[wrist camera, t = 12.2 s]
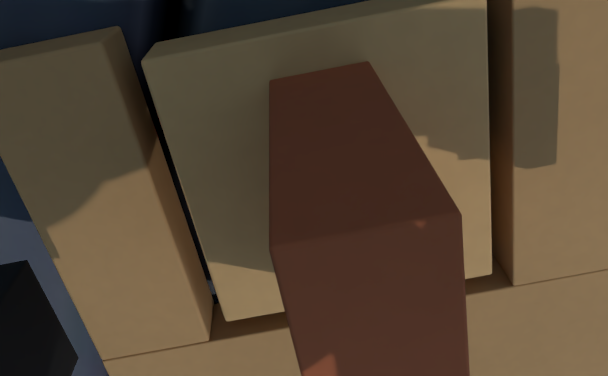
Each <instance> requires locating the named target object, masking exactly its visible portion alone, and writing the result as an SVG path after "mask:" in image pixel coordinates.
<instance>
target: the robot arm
mask: <svg viewBox="0 0 608 376" xmlns="http://www.w3.org/2000/svg"><path fill="white" fill-rule="evenodd" d="M77 360H78V356H77V354H76V352H75V350H74V348H73V346H72V345H71V343H70V341H69V339H68V337H67V335H66V333H65V331H64V329H63V327H62V326H61V324H60V322H59V320H58V318H57V316H56V314H55V312H54V310H53V308H52V307H51V305H50V303H49V301H48V299H47V297H46V295H45V293H44V291H43V289H42V288H41V286H40V284H39V282H38V280H37V278H36V276H35V274H34V272H33V270H32V269H31V267H30V265H29V263H28V261H27V260H24V261H19V262H14V263H9V264H3V265H0V376H71V375H72V372H73V370H74V367H75V365H76V362H77Z"/></svg>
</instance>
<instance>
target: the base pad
mask: <svg viewBox="0 0 608 376" xmlns="http://www.w3.org/2000/svg"><path fill="white" fill-rule="evenodd" d="M487 39H488V88H489V138H490V187H491V235H492V274H490V275H485V276H480V277H474V278H469V279H465V291H466V311H467V331H468V350H469V370H470V376H608V0H487ZM0 156H1V158H2V160H3V162H4V164H5V166H6V168H7V170H8V172H9V174H10V176H11V178H12V180H13V182H14V184H15V186H16V188H17V190H18V192H19V194H20V196H21V198H22V200H23V202H24V204H25V206H26V208H27V210H28V212H29V214H30V216H31V218H32V220H33V222H34V224H35V226H36V228H37V231H38V233H39V235H40V237H41V239H42V241H43V243H44V245H45V247H46V249H47V251H48V253H49V255H50V257H51V259H52V261H53V263H54V265H55V267H56V269H57V271H58V273H59V275H60V277H61V279H62V281H63V283H64V285H65V287H66V289H67V291H68V293H69V295H70V297H71V299H72V301H73V303H74V305H75V307H76V309H77V311H78V313H79V315H80V317H81V319H82V321H83V323H84V325H85V327H86V329H87V331H88V333H89V335H90V337H91V339H92V341H93V343H94V345H95V347H96V349H97V351H98V353H99V355H100V357H101V359H102V360H103V364H104V366H105V368H106V370H107V372H108V374H109V376H301V372H300V369H299V365H298V361H297V357H296V353H295V349H294V345H293V341H292V337H291V334H290V330H289V326H288V322H287V318H286V314H285V311H284V312H278V313H273V314H267V315H261V316H256V317H250V318H245V319H239V320H233V321H226V320H225V318H224V315H223V312H222V309H221V306H220V303H217V304H214V301H213V298H212V295H211V292H210V289H209V286H208V283H207V280H206V277H205V274H204V271H203V268H202V265H201V262H200V259H199V257H198V254H197V251H196V248H195V245H194V242H193V239H192V236H191V233H190V230H189V227H188V224H187V221H186V218H185V215H184V212H183V209H182V206H181V204H180V201H179V198H178V195H177V192H176V189H175V186H174V183H173V180H172V177H171V174H170V171H169V168H168V165H167V162H166V159H165V156H164V153H163V151H162V148H161V145H160V142H159V139H158V136H157V133H156V130H155V127H154V124H153V121H152V118H151V115H150V112H149V109H148V106H147V103H146V100H145V98H144V95H143V92H142V89H141V86H140V83H139V80H138V77H137V74H136V71H135V68H134V65H133V62H132V59H131V56H130V53H129V50H128V48H127V45H126V42H125V39H124V36H123V33H122V30H121V28H120V27H118V26H114V27H109V28H104V29H99V30H94V31H89V32H85V33H80V34H75V35H70V36H65V37H60V38H55V39H50V40H45V41H41V42H36V43H31V44H26V45H21V46H16V47H11V48H6V49H2V50H0Z"/></svg>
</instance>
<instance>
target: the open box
mask: <svg viewBox="0 0 608 376" xmlns="http://www.w3.org/2000/svg"><path fill="white" fill-rule="evenodd" d="M141 65H142V68H143V71H144V74H145V77H146V80H147V83H148V86H149V89H150V92H151V96H152V99H153V102H154V105H155V108H156V111H157V114H158V117H159V120H160V123H161V126H162V129H163V132H164V135H165V138H166V141H167V144H168V147H169V150H170V153H171V157H172V160H173V163H174V166H175V169H176V172H177V175H178V178H179V181H180V184H181V187H182V190H183V193H184V196H185V199H186V202H187V205H188V208H189V211H190V215H191V218H192V221H193V224H194V227H195V230H196V233H197V236H198V239H199V242H200V245H201V248H202V251H203V254H204V257H205V260H206V263H207V266H208V269H209V272H210V276H211V279H212V282H213V285H214V288H215V291H216V294H217V297H218V300H219V303H220V306H221V309H222V312H223V315H224V318H225V320H226V321H233V320H239V319H245V318H250V317H256V316H261V315H267V314H273V313H278V312H284V311H285V314H286V318H287V322H288V326H289V330H290V334H291V337H292V341H293V345H294V349H295V353H296V357H297V361H298V365H299V369H300V372H301V376H470V370H469V350H468V331H467V311H466V291H465V279H469V278H474V277H480V276H485V275H490V274H492V236H491V187H490V138H489V88H488V39H487V0H369V1H364V2H359V3H354V4H349V5H344V6H338V7H333V8H328V9H323V10H318V11H313V12H308V13H303V14H298V15H293V16H288V17H283V18H278V19H273V20H268V21H263V22H258V23H253V24H248V25H243V26H237V27H232V28H227V29H222V30H217V31H212V32H207V33H202V34H197V35H192V36H187V37H182V38H177V39H172V40H167V41H162V42H157V43H155V44H154V45H153V46H152V48H151V49H150V50H149V52H148V53H147V54H146V55H145V57H144V58H143V59H142V61H141Z"/></svg>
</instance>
